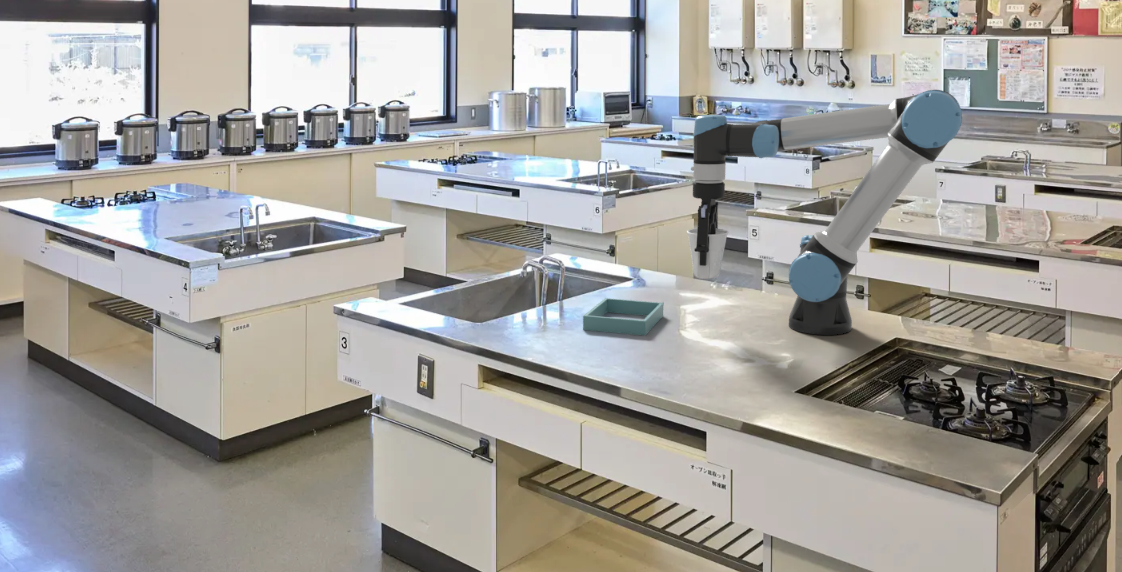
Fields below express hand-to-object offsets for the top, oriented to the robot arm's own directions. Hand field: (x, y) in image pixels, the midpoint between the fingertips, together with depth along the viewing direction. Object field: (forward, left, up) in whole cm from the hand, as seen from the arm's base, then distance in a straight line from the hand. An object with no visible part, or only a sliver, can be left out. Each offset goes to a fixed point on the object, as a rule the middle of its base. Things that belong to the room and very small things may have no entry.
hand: (706, 274), depth 241 cm
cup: (0, 0, -1) cm, 1 cm away
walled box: (+20, 0, -14) cm, 25 cm away
